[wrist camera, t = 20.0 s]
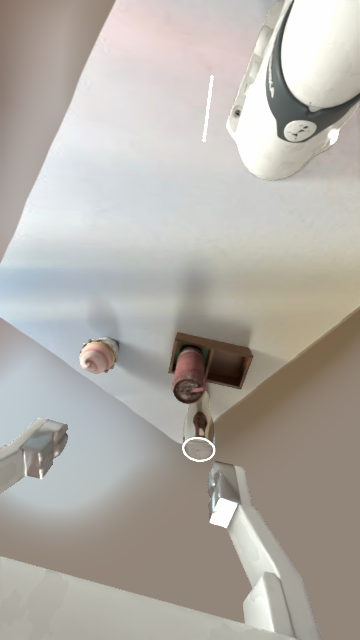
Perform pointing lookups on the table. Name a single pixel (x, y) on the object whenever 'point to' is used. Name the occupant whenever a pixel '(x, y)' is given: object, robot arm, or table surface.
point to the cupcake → (99, 355)
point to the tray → (216, 360)
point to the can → (189, 375)
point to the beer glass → (199, 431)
